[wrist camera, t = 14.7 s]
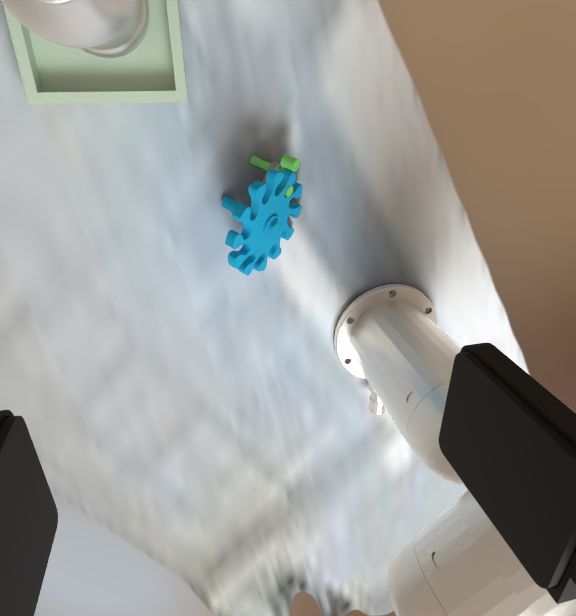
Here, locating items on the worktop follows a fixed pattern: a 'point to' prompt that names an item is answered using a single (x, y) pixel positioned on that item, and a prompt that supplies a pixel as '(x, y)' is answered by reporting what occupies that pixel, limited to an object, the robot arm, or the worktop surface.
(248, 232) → the gear
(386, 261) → the worktop surface
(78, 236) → the worktop surface
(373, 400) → the robot arm
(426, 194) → the worktop surface
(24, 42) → the tray
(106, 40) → the plastic bottle
